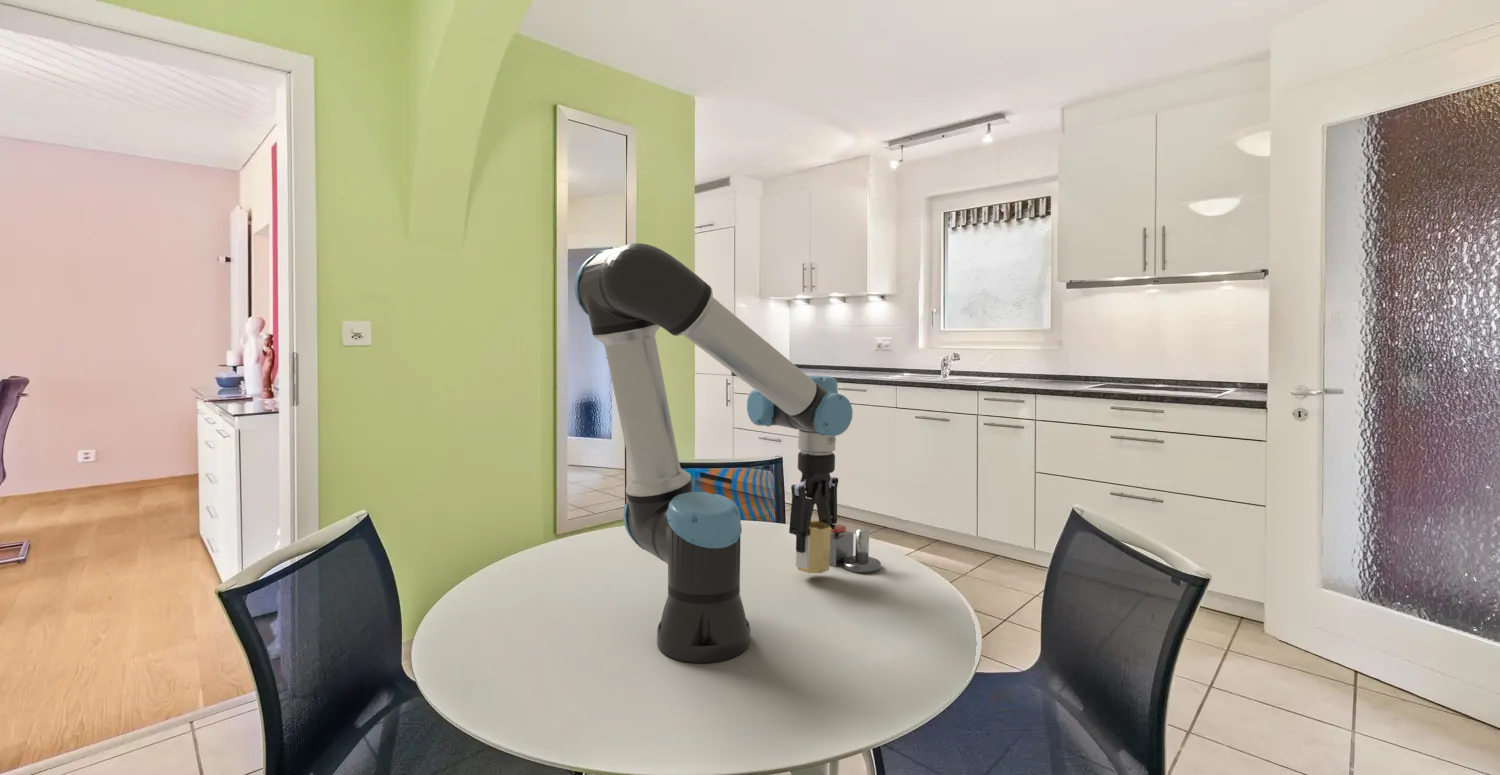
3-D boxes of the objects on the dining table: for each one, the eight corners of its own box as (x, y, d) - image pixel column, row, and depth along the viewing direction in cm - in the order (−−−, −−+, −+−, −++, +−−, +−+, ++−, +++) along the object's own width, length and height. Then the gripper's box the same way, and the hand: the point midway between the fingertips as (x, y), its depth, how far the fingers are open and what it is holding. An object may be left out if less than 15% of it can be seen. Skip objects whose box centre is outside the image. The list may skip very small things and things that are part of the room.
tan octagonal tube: (816, 575, 135) (818, 530, 135) (790, 567, 140) (792, 524, 139) (834, 567, 140) (835, 524, 140) (808, 560, 144) (810, 518, 144)
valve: (868, 576, 141) (869, 537, 141) (817, 562, 150) (818, 526, 149) (887, 566, 148) (888, 529, 147) (837, 554, 156) (838, 518, 155)
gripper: (804, 459, 128) (799, 579, 130) (857, 449, 143) (853, 556, 145) (772, 454, 133) (768, 570, 135) (827, 445, 148) (823, 549, 150)
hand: (812, 563), depth 140 cm, fingers closed on tan octagonal tube, 6 cm apart
